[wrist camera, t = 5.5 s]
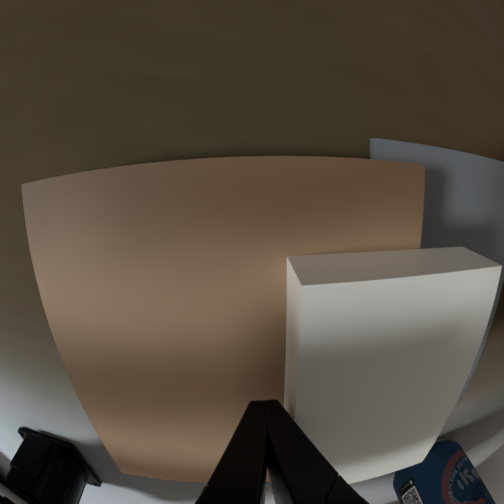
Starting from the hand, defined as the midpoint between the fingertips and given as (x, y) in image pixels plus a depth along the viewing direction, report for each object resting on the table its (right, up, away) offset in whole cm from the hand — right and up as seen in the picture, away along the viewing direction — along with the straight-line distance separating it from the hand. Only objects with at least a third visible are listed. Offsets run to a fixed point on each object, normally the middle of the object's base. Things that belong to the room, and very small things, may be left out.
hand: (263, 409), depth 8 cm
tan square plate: (-1, +1, +5) cm, 5 cm away
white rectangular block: (+4, 0, +1) cm, 4 cm away
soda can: (+15, -14, +10) cm, 23 cm away
